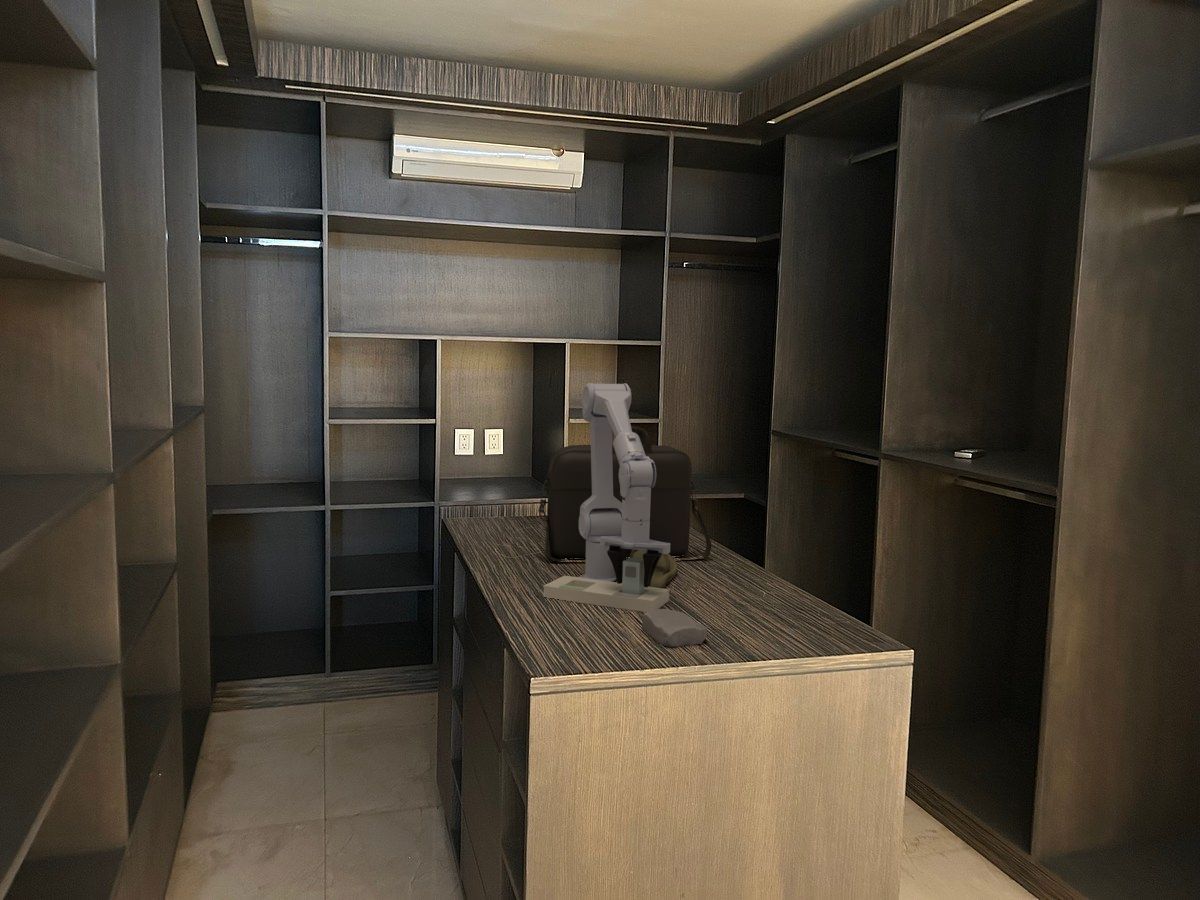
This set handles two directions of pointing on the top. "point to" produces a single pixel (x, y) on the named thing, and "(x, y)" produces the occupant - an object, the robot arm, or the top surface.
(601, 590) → the jack block
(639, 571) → the plug
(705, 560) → the top surface
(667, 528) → the laptop bag
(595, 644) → the top surface
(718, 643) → the top surface
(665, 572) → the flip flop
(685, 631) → the stone block
